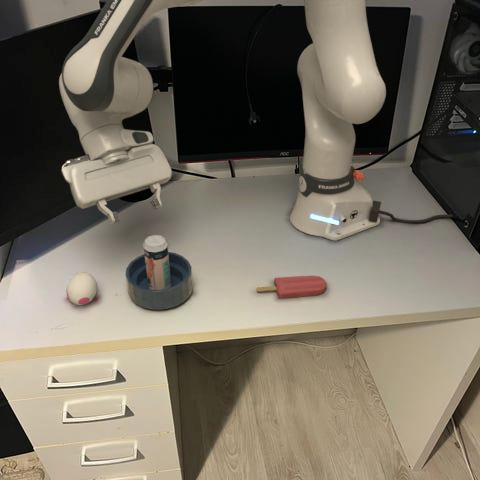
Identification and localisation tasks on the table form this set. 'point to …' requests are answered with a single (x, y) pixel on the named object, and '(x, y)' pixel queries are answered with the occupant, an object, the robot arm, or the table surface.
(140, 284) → the bowl
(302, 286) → the popsicle
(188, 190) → the table surface
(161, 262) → the white capped supplement bottle
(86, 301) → the stress ball
